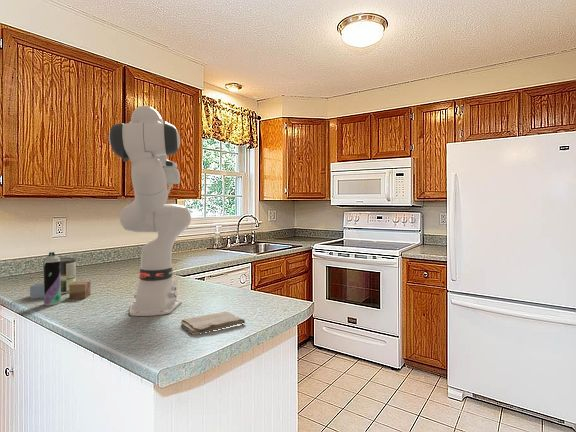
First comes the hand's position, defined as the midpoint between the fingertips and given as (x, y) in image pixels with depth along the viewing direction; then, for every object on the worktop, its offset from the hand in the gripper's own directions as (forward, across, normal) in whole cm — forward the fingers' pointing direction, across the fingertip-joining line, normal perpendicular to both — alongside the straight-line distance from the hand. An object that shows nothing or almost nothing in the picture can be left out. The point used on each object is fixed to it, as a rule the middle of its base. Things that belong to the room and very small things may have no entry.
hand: (157, 193), depth 168 cm
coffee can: (+44, -40, -2) cm, 59 cm away
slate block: (+44, -46, -10) cm, 64 cm away
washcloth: (+45, +27, -56) cm, 77 cm away
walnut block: (+44, -28, -12) cm, 54 cm away
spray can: (+44, -35, -22) cm, 60 cm away
